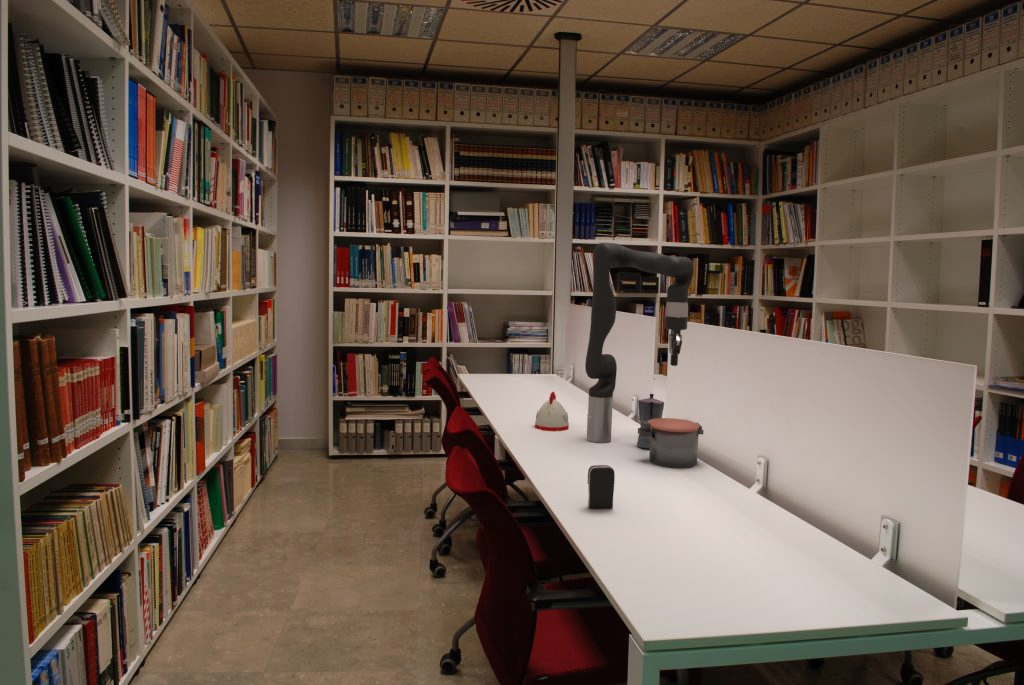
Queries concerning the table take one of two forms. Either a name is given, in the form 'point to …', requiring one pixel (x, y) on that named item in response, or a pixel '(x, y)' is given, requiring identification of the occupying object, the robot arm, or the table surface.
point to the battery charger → (600, 486)
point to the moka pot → (648, 416)
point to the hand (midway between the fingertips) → (673, 365)
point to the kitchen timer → (552, 416)
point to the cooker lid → (672, 425)
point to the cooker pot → (672, 447)
